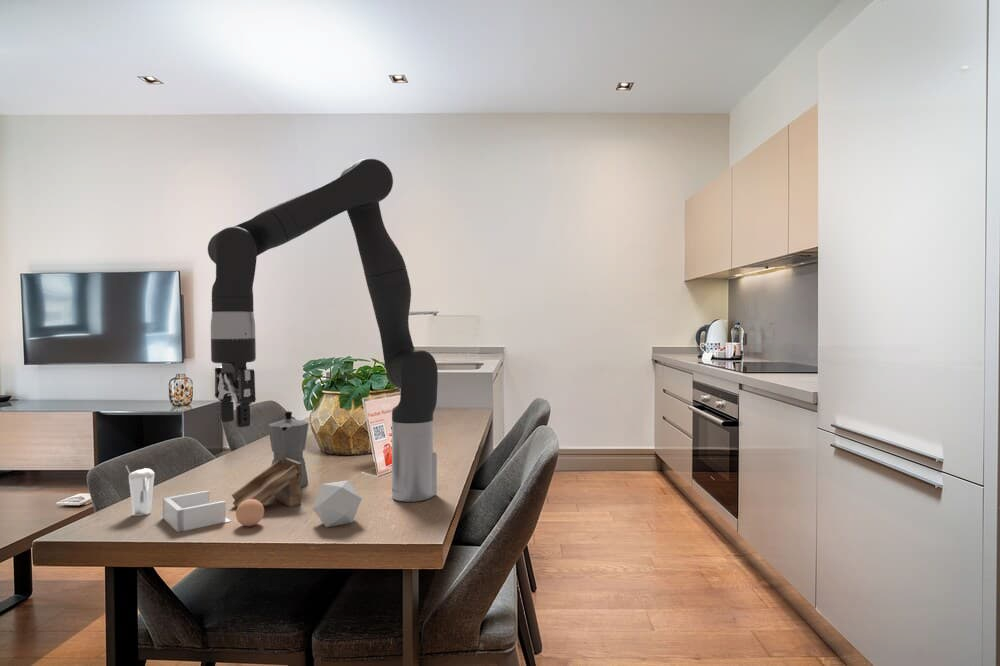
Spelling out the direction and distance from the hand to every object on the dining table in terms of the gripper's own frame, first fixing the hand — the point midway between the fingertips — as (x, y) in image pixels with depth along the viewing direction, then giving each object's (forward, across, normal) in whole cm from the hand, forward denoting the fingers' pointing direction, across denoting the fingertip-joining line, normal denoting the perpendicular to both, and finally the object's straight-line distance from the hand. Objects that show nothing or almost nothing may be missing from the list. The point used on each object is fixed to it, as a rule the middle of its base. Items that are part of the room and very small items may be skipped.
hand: (234, 424), depth 106 cm
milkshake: (+20, +25, +10) cm, 34 cm away
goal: (+20, +13, +4) cm, 24 cm away
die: (+21, -8, -16) cm, 27 cm away
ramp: (+20, +13, -10) cm, 26 cm away
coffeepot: (+21, +27, -22) cm, 40 cm away
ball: (+18, +2, -3) cm, 18 cm away
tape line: (+20, +13, -1) cm, 24 cm away
